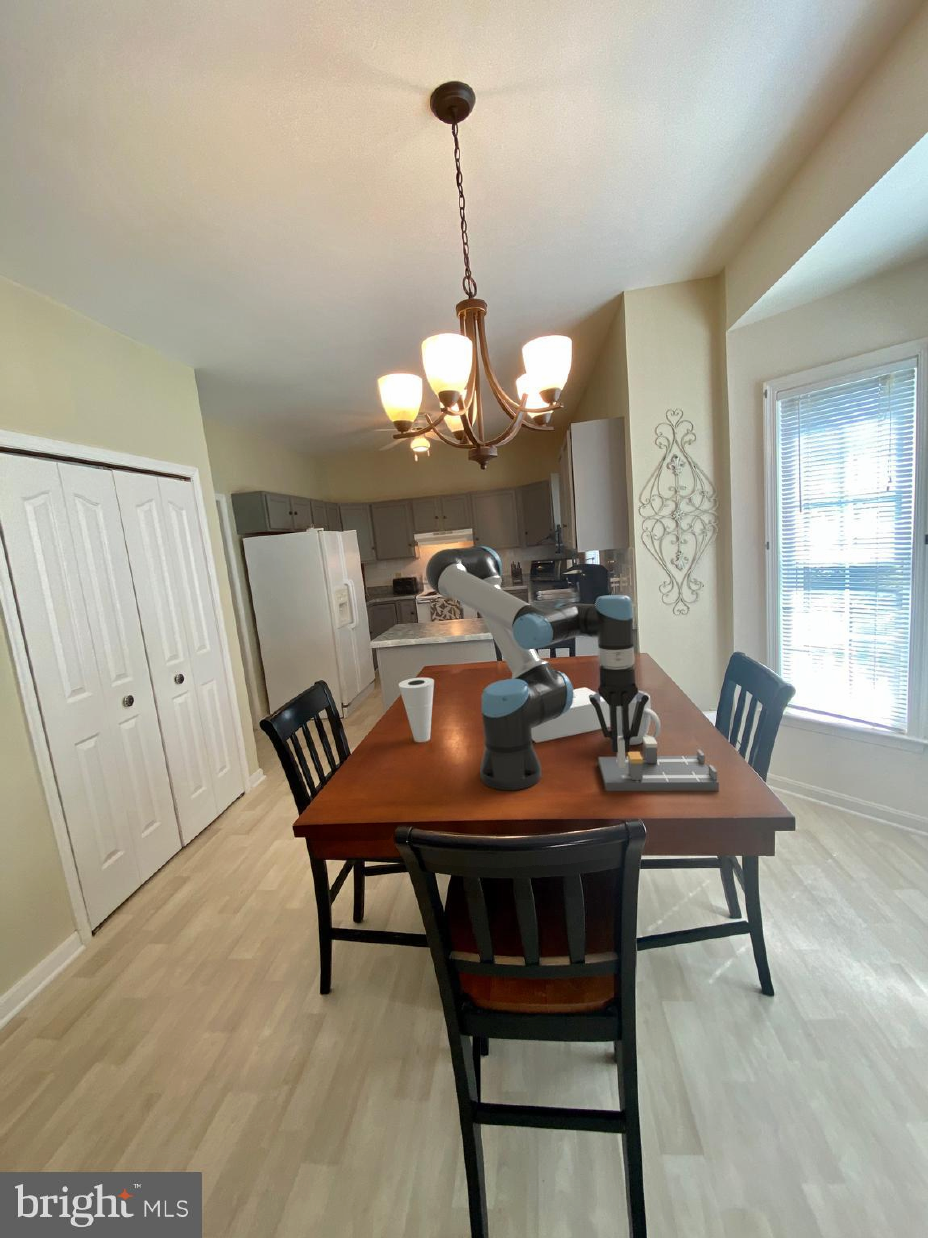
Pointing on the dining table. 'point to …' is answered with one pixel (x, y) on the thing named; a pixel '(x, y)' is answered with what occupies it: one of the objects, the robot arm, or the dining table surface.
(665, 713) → the dining table surface
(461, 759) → the dining table surface
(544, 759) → the dining table surface
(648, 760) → the fader cream
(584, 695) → the tissue box
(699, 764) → the console
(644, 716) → the mug
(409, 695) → the white paper towel roll
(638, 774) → the fader orange
